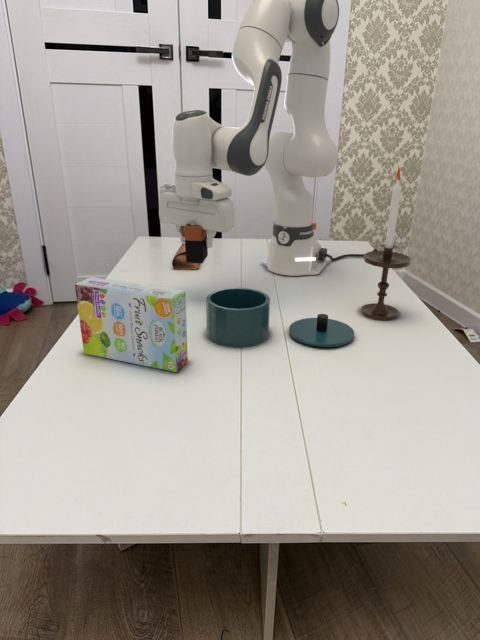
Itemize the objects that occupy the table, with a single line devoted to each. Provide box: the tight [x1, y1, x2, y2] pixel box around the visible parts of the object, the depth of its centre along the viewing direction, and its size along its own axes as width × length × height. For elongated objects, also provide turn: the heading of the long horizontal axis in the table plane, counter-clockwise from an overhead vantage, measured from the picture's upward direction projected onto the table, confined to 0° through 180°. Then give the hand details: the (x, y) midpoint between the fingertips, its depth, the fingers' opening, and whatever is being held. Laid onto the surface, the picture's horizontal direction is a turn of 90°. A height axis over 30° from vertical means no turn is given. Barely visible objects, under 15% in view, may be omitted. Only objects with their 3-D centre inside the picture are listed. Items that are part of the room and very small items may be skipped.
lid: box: [288, 313, 355, 348], centre depth 112 cm, size 15×15×5 cm
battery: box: [184, 222, 209, 264], centre depth 124 cm, size 4×7×10 cm, turn 175°
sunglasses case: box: [171, 243, 200, 271], centre depth 161 cm, size 18×7×7 cm
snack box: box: [74, 276, 189, 373], centre depth 97 cm, size 21×6×15 cm, turn 71°
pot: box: [205, 287, 271, 348], centre depth 111 cm, size 14×14×8 cm
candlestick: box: [360, 165, 412, 321], centre depth 118 cm, size 11×11×35 cm
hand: (196, 245), depth 124 cm, fingers closed on battery, 5 cm apart
